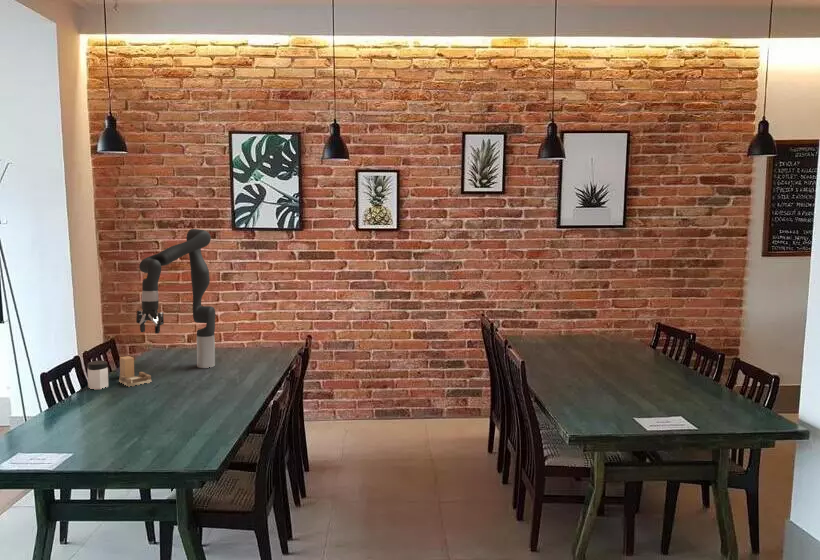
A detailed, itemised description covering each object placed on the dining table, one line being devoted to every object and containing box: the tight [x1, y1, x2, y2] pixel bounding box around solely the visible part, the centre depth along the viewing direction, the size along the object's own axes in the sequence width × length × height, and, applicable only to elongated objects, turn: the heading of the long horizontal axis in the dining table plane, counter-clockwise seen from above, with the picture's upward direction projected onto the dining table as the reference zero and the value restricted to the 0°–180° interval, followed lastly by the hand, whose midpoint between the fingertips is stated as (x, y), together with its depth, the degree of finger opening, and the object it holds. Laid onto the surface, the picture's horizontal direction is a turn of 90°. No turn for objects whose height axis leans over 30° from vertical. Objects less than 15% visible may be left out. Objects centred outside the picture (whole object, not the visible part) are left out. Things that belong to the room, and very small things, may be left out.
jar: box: [87, 360, 109, 390], centre depth 277 cm, size 9×8×12 cm
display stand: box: [118, 371, 153, 388], centre depth 286 cm, size 11×11×4 cm
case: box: [119, 355, 135, 378], centre depth 295 cm, size 6×4×10 cm
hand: (149, 332), depth 286 cm, fingers open, 8 cm apart
